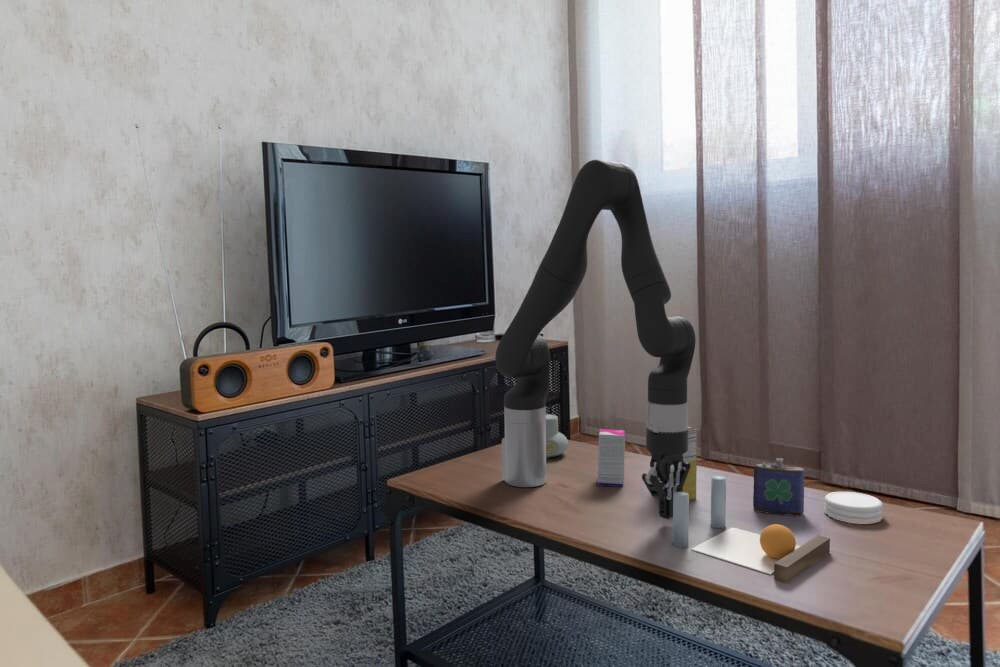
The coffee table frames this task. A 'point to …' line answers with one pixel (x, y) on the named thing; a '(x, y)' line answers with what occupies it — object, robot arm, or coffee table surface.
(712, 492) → the post
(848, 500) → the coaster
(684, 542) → the post
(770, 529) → the ball
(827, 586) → the coffee table surface
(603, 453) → the supplement box
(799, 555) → the rail
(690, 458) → the candy box
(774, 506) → the flask
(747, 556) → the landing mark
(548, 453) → the air freshener
